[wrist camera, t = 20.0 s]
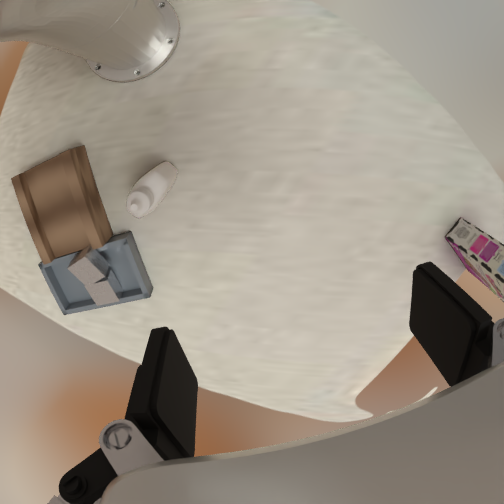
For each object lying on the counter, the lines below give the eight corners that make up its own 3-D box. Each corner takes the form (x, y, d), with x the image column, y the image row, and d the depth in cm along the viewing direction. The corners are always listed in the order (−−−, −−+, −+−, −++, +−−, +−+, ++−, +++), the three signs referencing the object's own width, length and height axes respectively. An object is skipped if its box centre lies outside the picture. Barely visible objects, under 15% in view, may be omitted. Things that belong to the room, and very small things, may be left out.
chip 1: (73, 256, 38) (67, 268, 36) (90, 244, 37) (84, 256, 35) (91, 274, 40) (87, 287, 39) (109, 264, 40) (105, 276, 38)
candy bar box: (442, 238, 45) (506, 286, 30) (460, 216, 43) (527, 257, 28) (466, 272, 48) (520, 319, 33) (482, 252, 47) (538, 296, 32)
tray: (45, 257, 41) (38, 264, 38) (131, 231, 40) (126, 238, 38) (69, 306, 44) (63, 315, 42) (153, 288, 44) (150, 297, 42)
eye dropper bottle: (134, 173, 37) (100, 197, 26) (173, 157, 37) (152, 174, 26) (146, 204, 39) (118, 238, 28) (185, 189, 39) (170, 218, 28)
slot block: (28, 171, 35) (11, 178, 31) (84, 145, 35) (69, 149, 31) (57, 251, 40) (43, 264, 36) (113, 234, 40) (102, 247, 36)
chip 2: (97, 305, 41) (101, 294, 43) (119, 301, 41) (122, 289, 43) (84, 285, 39) (88, 274, 41) (107, 280, 39) (111, 268, 41)
